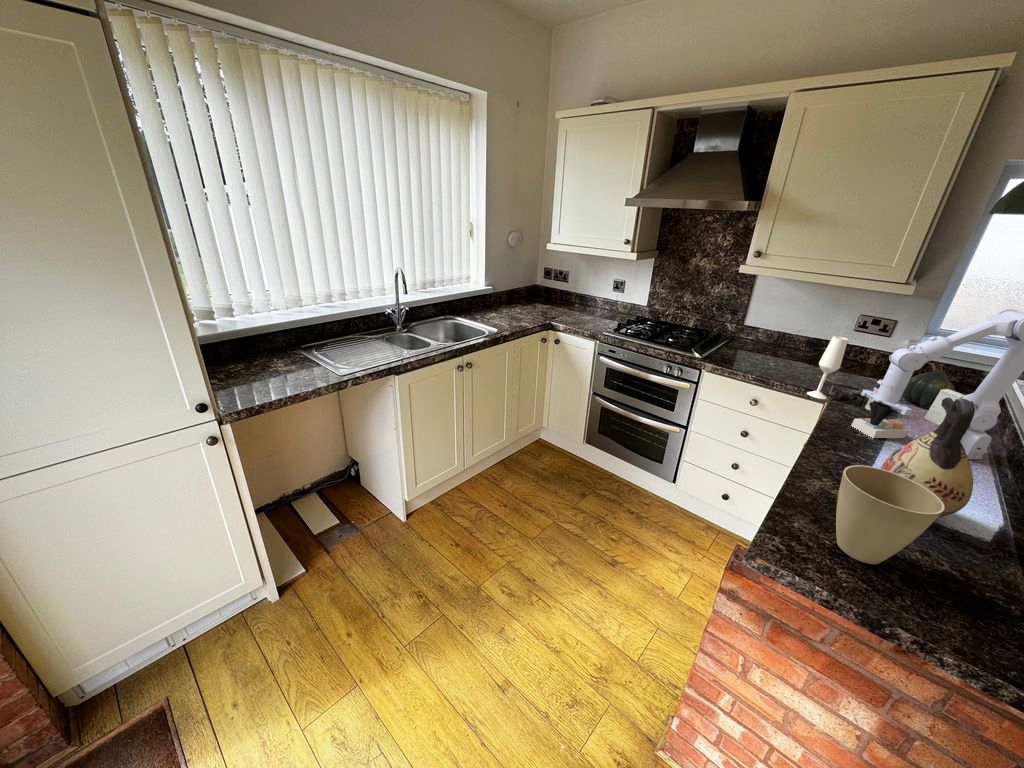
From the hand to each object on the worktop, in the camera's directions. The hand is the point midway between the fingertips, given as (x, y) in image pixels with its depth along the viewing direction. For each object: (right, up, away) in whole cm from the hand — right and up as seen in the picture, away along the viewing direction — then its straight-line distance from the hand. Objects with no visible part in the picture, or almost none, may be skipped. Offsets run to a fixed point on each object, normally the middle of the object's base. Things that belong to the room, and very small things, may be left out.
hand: (874, 424), depth 135 cm
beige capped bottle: (+17, +3, +20) cm, 27 cm away
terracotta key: (+8, -1, +2) cm, 8 cm away
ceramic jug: (-24, -17, -36) cm, 46 cm away
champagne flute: (+3, +8, +30) cm, 31 cm away
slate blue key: (0, -2, +1) cm, 2 cm away
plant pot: (-47, -21, -50) cm, 72 cm away
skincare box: (+36, -1, +15) cm, 39 cm away
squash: (+46, +5, +31) cm, 55 cm away
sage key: (+4, -1, +1) cm, 4 cm away
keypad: (+4, -3, +3) cm, 5 cm away
